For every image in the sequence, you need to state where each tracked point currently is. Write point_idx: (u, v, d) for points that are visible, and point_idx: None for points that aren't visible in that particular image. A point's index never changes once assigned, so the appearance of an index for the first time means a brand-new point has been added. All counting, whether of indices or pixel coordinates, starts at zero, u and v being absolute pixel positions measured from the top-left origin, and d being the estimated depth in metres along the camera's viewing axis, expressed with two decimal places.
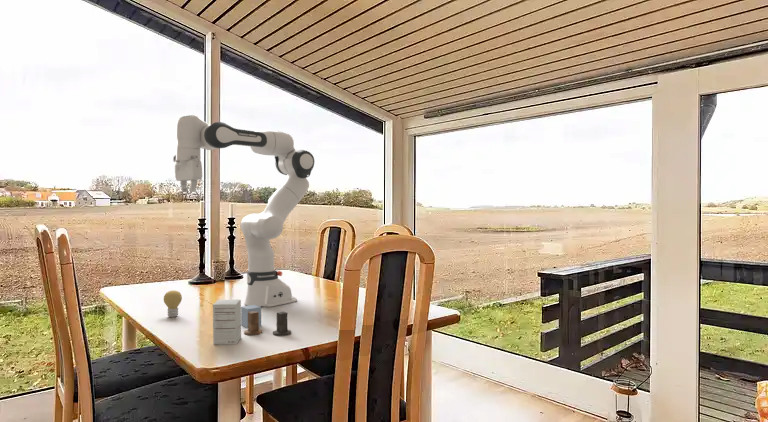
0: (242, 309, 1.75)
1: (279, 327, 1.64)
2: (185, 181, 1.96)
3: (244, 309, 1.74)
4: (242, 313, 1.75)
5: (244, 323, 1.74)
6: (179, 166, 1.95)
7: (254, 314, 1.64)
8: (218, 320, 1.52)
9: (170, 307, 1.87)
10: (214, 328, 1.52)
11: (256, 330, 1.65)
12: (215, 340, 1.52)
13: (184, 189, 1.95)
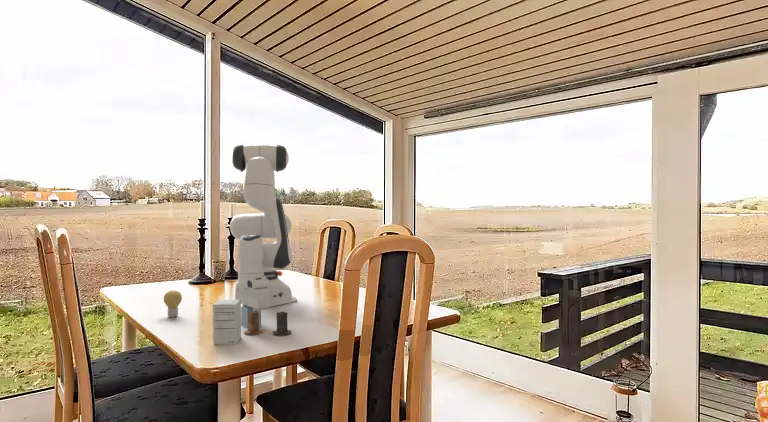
0: (242, 309, 1.75)
1: (279, 327, 1.64)
2: None
3: (244, 309, 1.74)
4: (242, 313, 1.75)
5: (244, 323, 1.74)
6: None
7: (254, 314, 1.64)
8: (218, 320, 1.52)
9: (170, 307, 1.87)
10: (214, 328, 1.52)
11: (256, 330, 1.65)
12: (215, 340, 1.52)
13: None
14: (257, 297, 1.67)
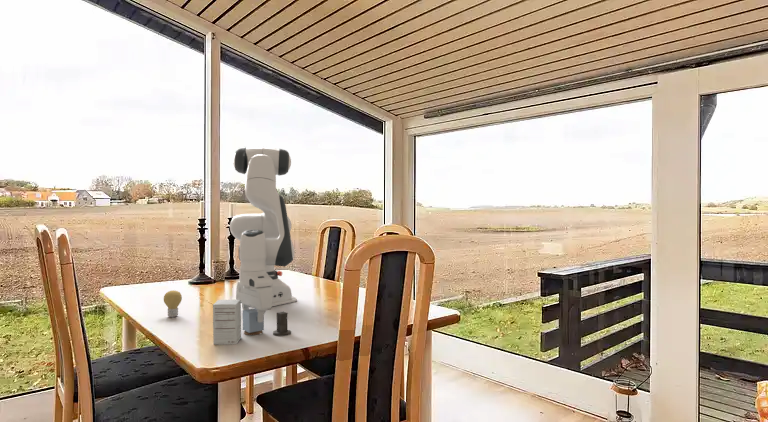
0: (243, 313, 1.65)
1: (279, 327, 1.64)
2: None
3: (246, 313, 1.64)
4: (243, 317, 1.65)
5: (246, 328, 1.64)
6: None
7: None
8: (218, 320, 1.52)
9: (170, 307, 1.87)
10: (214, 328, 1.52)
11: None
12: (215, 340, 1.52)
13: None
14: (260, 297, 1.57)
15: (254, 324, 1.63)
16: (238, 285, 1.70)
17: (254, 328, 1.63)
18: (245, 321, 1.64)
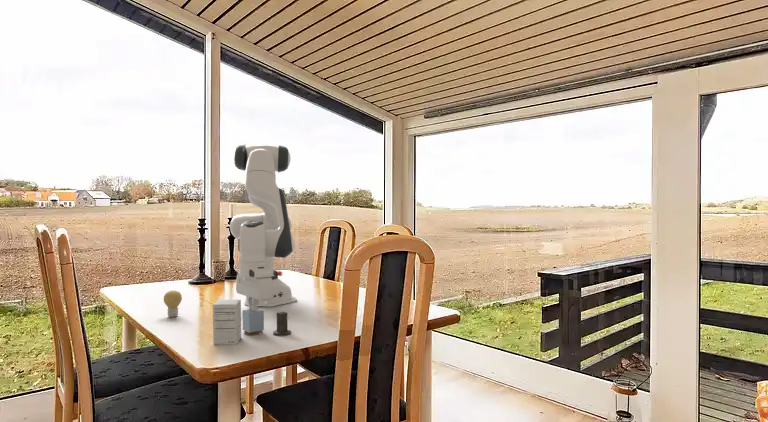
0: (243, 313, 1.65)
1: (279, 327, 1.64)
2: None
3: (246, 313, 1.64)
4: (243, 317, 1.65)
5: (246, 328, 1.64)
6: None
7: None
8: (218, 320, 1.52)
9: (170, 307, 1.87)
10: (214, 328, 1.52)
11: None
12: (215, 340, 1.52)
13: None
14: (260, 287, 1.57)
15: (254, 324, 1.63)
16: (238, 276, 1.70)
17: (254, 328, 1.63)
18: (245, 321, 1.64)
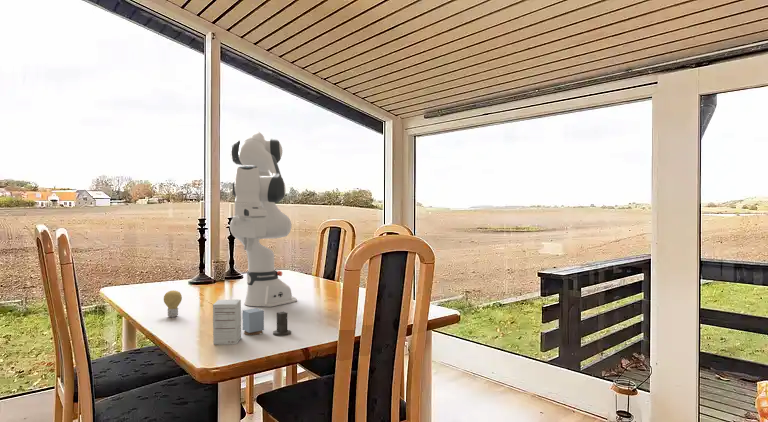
0: (243, 313, 1.65)
1: (279, 327, 1.64)
2: None
3: (246, 313, 1.64)
4: (243, 317, 1.65)
5: (246, 328, 1.64)
6: None
7: None
8: (218, 320, 1.52)
9: (170, 307, 1.87)
10: (214, 328, 1.52)
11: None
12: (215, 340, 1.52)
13: None
14: (254, 225, 1.64)
15: (254, 324, 1.63)
16: (233, 219, 1.77)
17: (254, 328, 1.63)
18: (245, 321, 1.64)
